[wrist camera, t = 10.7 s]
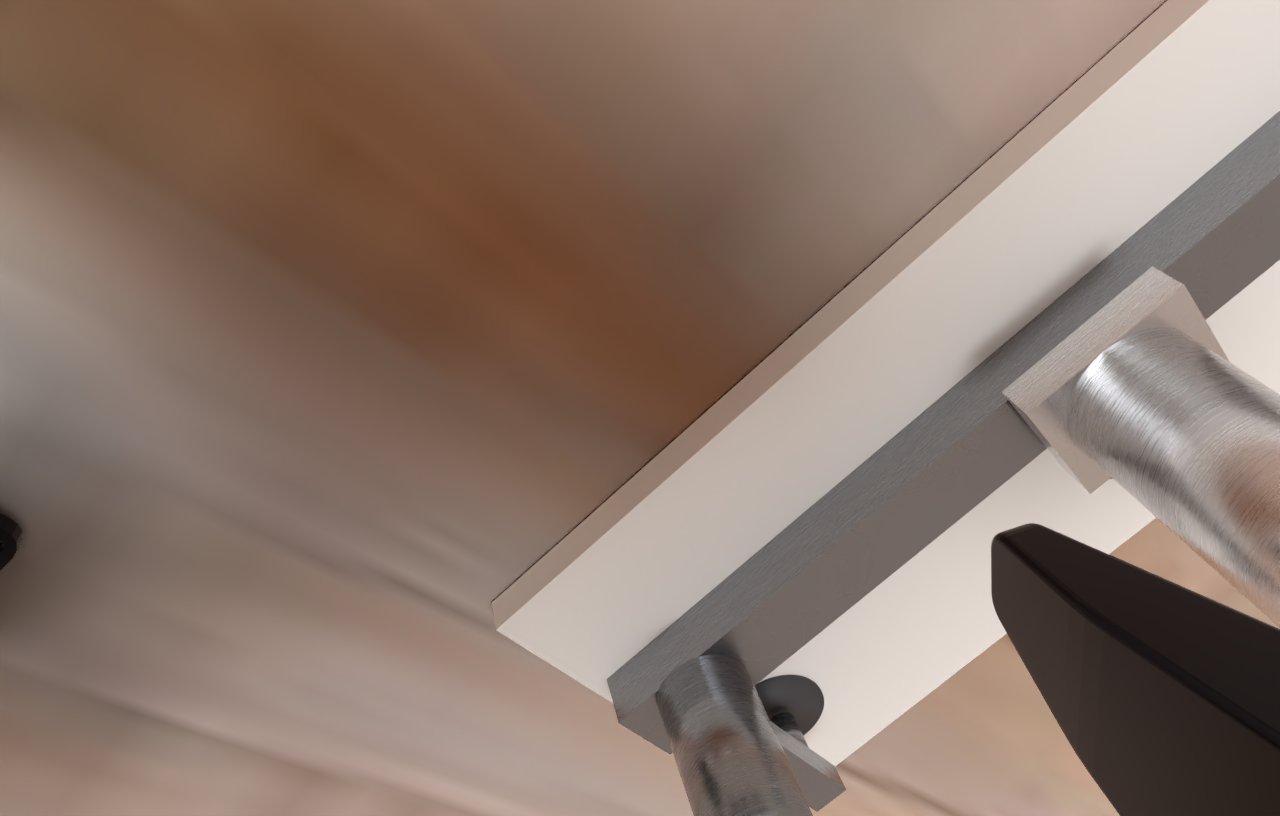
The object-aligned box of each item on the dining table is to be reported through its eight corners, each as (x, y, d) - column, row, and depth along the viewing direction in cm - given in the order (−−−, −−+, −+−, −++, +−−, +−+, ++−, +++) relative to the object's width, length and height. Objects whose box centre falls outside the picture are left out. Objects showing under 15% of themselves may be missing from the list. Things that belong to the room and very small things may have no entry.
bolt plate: (769, 782, 32) (781, 811, 31) (491, 603, 25) (496, 633, 24) (1513, 198, 27) (1554, 212, 26) (1392, -201, 20) (1441, -201, 19)
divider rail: (743, 767, 29) (823, 965, 24) (601, 675, 26) (658, 882, 21) (1513, 157, 25) (1810, 247, 19) (1453, -46, 21) (1790, -1, 16)
